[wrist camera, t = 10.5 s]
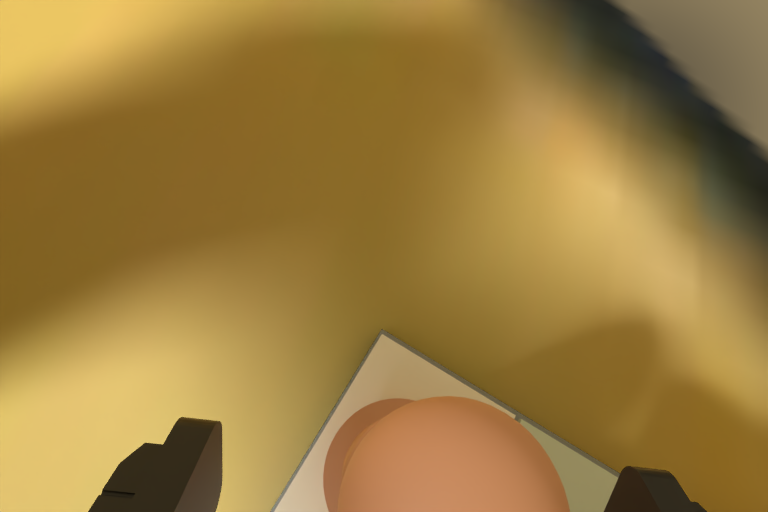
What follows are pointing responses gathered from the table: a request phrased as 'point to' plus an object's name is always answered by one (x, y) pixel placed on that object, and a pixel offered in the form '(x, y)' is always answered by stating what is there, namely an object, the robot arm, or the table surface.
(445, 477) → the pawn
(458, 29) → the table surface
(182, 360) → the table surface
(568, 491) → the track
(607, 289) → the table surface
